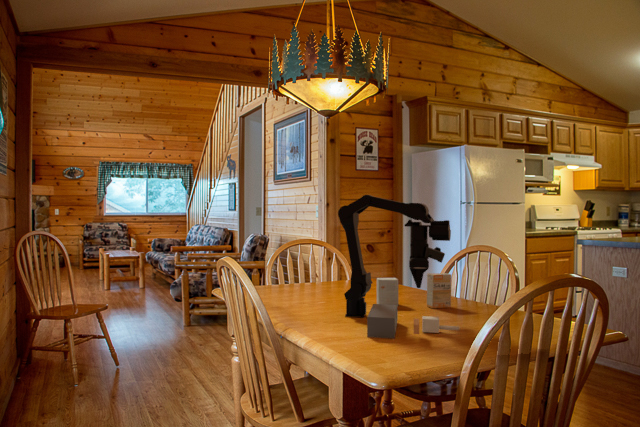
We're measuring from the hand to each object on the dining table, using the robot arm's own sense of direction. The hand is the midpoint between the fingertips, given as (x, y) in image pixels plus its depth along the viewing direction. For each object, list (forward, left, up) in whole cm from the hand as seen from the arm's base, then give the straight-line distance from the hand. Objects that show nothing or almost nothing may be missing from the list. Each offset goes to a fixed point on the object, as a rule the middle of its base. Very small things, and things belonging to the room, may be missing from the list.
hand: (418, 285), depth 163 cm
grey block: (-11, -14, -12) cm, 21 cm away
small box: (-12, +26, -12) cm, 31 cm away
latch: (-1, -23, -9) cm, 25 cm away
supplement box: (+8, +26, -12) cm, 30 cm away
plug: (+7, -14, -12) cm, 19 cm away
